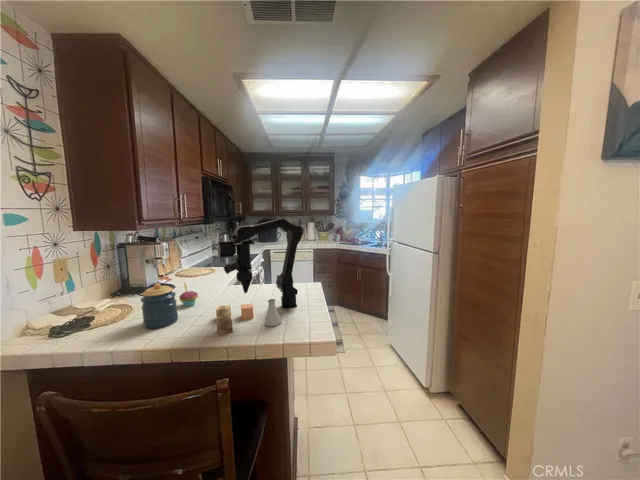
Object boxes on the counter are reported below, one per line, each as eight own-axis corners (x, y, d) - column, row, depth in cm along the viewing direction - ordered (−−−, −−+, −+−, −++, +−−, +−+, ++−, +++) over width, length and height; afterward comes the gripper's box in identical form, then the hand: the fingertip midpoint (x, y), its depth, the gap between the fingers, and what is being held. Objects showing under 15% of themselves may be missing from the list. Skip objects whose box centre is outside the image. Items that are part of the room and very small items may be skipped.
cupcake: (176, 307, 134) (173, 284, 132) (190, 301, 142) (188, 279, 140) (188, 309, 130) (186, 285, 129) (202, 303, 138) (200, 280, 137)
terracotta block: (253, 313, 122) (252, 303, 122) (253, 318, 117) (252, 307, 117) (241, 315, 121) (241, 304, 120) (241, 319, 116) (241, 308, 115)
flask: (278, 327, 107) (276, 303, 106) (261, 326, 109) (259, 302, 107) (284, 319, 114) (282, 297, 113) (268, 319, 116) (266, 296, 114)
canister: (158, 331, 107) (153, 289, 105) (136, 327, 112) (131, 286, 110) (185, 318, 119) (181, 280, 117) (163, 315, 124) (159, 278, 122)
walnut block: (229, 327, 109) (228, 316, 108) (232, 332, 104) (231, 320, 104) (217, 331, 106) (215, 319, 105) (219, 336, 102) (218, 323, 101)
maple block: (231, 315, 121) (230, 305, 120) (228, 320, 116) (227, 309, 115) (219, 316, 120) (218, 305, 120) (216, 321, 115) (215, 310, 115)
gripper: (225, 253, 123) (227, 285, 125) (222, 260, 105) (224, 298, 107) (250, 251, 126) (252, 283, 128) (251, 258, 108) (253, 295, 110)
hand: (245, 289), depth 118 cm, fingers open, 9 cm apart
